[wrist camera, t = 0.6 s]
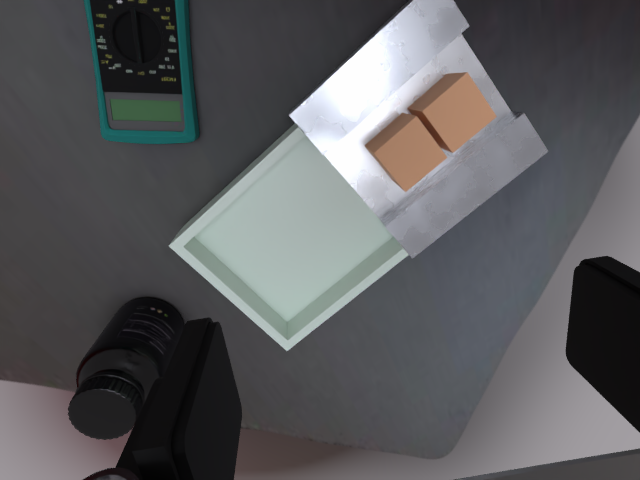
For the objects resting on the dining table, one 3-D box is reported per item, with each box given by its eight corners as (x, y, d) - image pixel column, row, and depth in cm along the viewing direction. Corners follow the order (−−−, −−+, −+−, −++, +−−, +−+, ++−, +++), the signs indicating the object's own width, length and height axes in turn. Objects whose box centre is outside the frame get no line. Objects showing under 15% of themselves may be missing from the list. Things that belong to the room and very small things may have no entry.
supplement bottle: (168, 363, 42) (126, 463, 31) (104, 336, 41) (35, 431, 30) (198, 313, 41) (165, 400, 29) (132, 283, 39) (71, 363, 28)
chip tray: (296, 121, 35) (298, 126, 30) (394, 235, 39) (408, 254, 35) (182, 226, 37) (168, 246, 33) (286, 322, 42) (286, 351, 37)
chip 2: (446, 73, 32) (467, 72, 29) (473, 113, 34) (496, 116, 30) (406, 108, 33) (422, 111, 29) (434, 145, 34) (452, 153, 31)
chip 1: (402, 112, 33) (416, 116, 30) (430, 149, 35) (447, 157, 31) (364, 145, 34) (373, 153, 30) (392, 180, 35) (405, 192, 32)
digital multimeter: (187, -65, 30) (177, -80, 27) (201, 141, 35) (194, 145, 32) (83, -72, 29) (62, -88, 27) (113, 139, 35) (98, 143, 32)
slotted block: (420, -11, 32) (438, -24, 28) (522, 144, 37) (548, 151, 33) (288, 112, 34) (289, 115, 31) (400, 242, 40) (412, 258, 36)
